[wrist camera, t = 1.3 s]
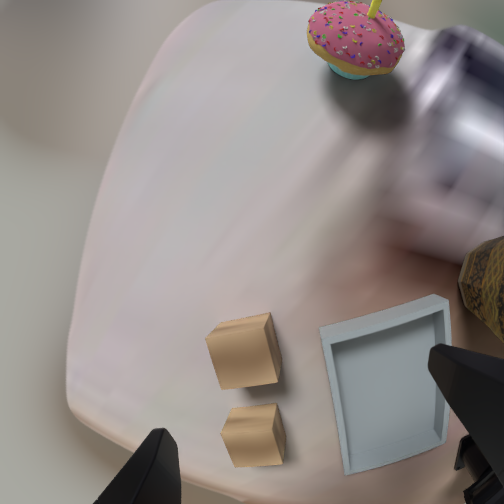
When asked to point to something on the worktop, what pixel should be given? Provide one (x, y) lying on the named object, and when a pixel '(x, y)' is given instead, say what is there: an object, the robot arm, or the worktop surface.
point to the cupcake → (355, 39)
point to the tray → (387, 382)
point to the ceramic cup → (485, 284)
